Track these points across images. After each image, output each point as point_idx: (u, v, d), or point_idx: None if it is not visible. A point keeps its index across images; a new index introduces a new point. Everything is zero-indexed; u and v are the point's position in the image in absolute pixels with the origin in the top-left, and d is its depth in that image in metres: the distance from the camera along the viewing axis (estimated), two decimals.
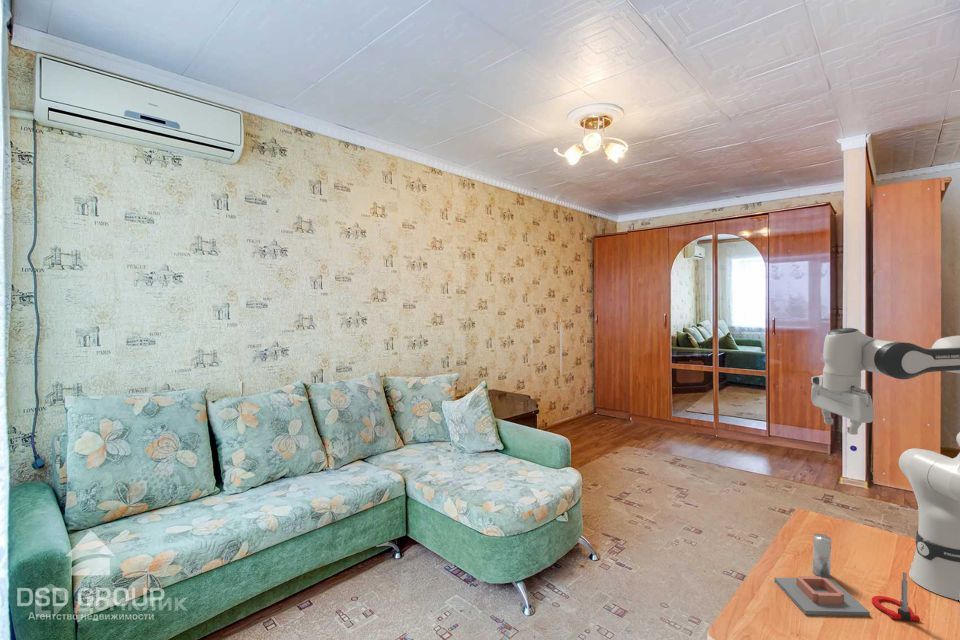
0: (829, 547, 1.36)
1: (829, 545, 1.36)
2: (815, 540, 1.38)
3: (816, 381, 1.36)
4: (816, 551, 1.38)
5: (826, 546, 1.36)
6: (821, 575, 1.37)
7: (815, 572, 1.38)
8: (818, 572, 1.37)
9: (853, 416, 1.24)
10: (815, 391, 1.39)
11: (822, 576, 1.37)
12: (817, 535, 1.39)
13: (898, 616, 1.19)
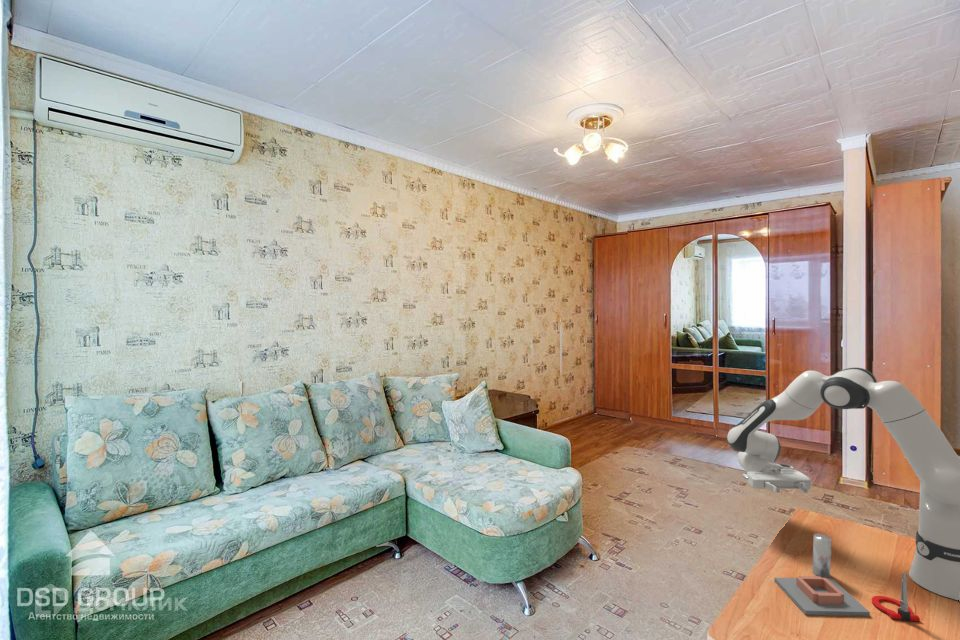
0: (829, 547, 1.36)
1: (829, 545, 1.36)
2: (815, 540, 1.38)
3: None
4: (816, 551, 1.38)
5: (826, 546, 1.36)
6: (821, 575, 1.37)
7: (815, 572, 1.38)
8: (818, 572, 1.37)
9: None
10: None
11: (822, 576, 1.37)
12: (817, 535, 1.39)
13: (898, 616, 1.19)
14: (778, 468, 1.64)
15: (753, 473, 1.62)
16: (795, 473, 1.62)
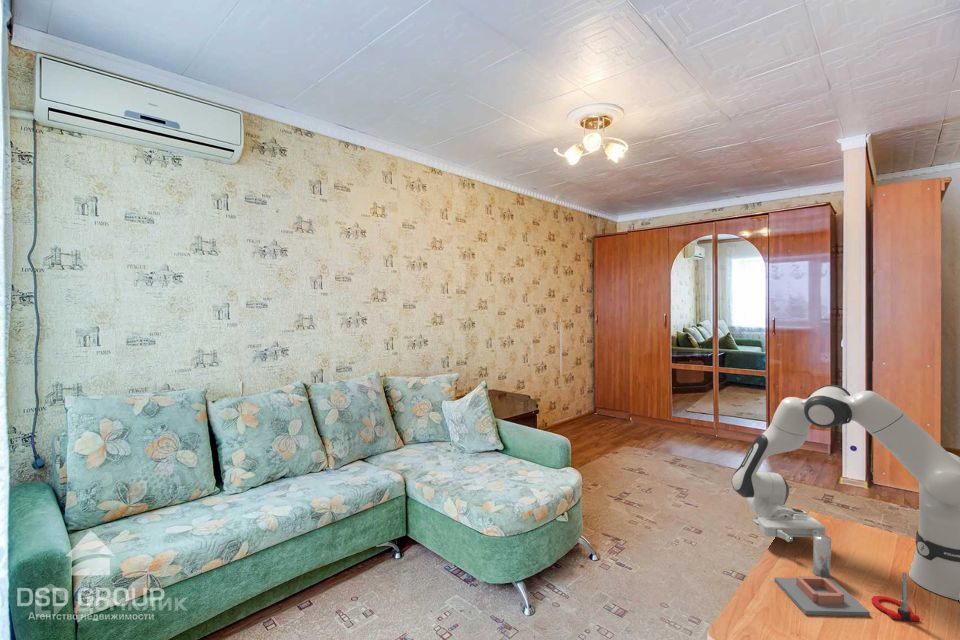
0: (829, 547, 1.36)
1: (829, 545, 1.36)
2: (815, 540, 1.38)
3: None
4: (816, 551, 1.38)
5: (826, 546, 1.36)
6: (821, 575, 1.37)
7: (815, 572, 1.38)
8: (818, 572, 1.37)
9: None
10: None
11: (822, 576, 1.37)
12: (817, 535, 1.39)
13: (898, 616, 1.19)
14: (790, 513, 1.58)
15: (764, 519, 1.56)
16: (809, 519, 1.55)
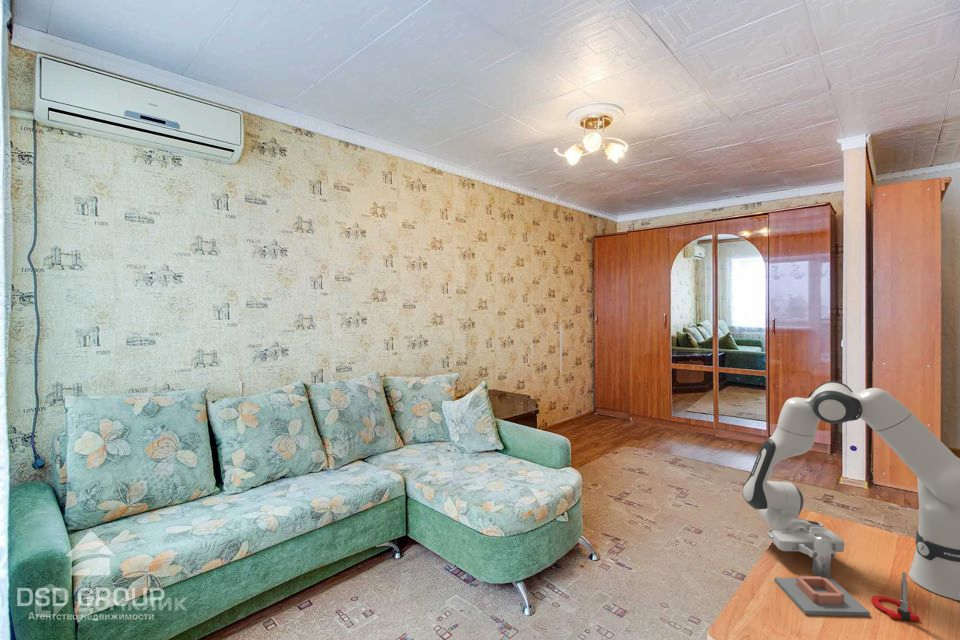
0: (829, 547, 1.36)
1: (829, 545, 1.36)
2: (815, 540, 1.38)
3: None
4: (816, 551, 1.38)
5: (826, 546, 1.36)
6: (821, 575, 1.37)
7: (815, 572, 1.38)
8: (818, 572, 1.37)
9: None
10: None
11: (822, 576, 1.37)
12: (817, 535, 1.39)
13: (898, 616, 1.19)
14: (806, 526, 1.49)
15: (779, 532, 1.47)
16: (826, 532, 1.47)
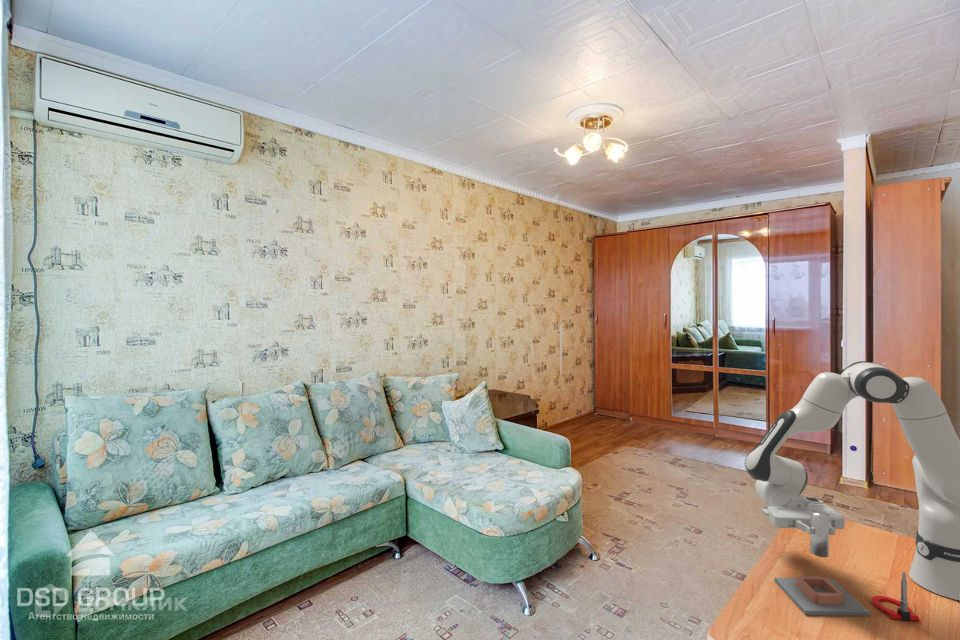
0: (828, 523, 1.27)
1: (828, 521, 1.27)
2: (813, 516, 1.29)
3: None
4: (814, 528, 1.29)
5: (824, 522, 1.27)
6: (819, 554, 1.28)
7: (813, 551, 1.29)
8: (816, 550, 1.29)
9: None
10: None
11: (820, 555, 1.28)
12: (815, 511, 1.30)
13: (898, 616, 1.19)
14: (804, 502, 1.40)
15: (775, 508, 1.39)
16: (825, 508, 1.38)
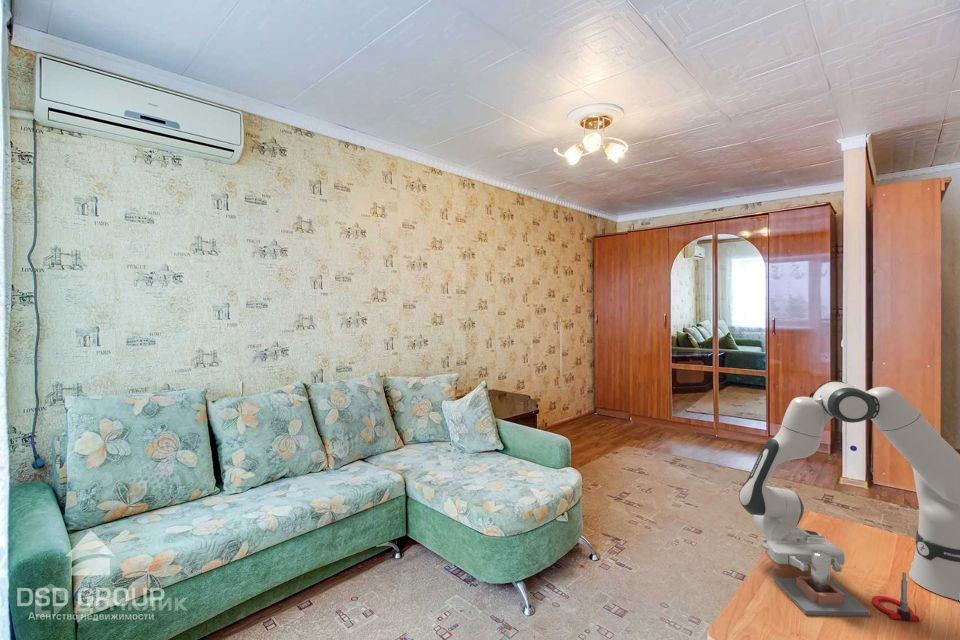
0: (829, 565, 1.25)
1: (828, 563, 1.25)
2: (813, 557, 1.27)
3: None
4: (814, 569, 1.27)
5: (825, 563, 1.25)
6: None
7: None
8: (816, 591, 1.27)
9: None
10: None
11: None
12: (816, 551, 1.28)
13: (898, 616, 1.19)
14: (804, 536, 1.38)
15: (774, 543, 1.37)
16: (825, 543, 1.36)
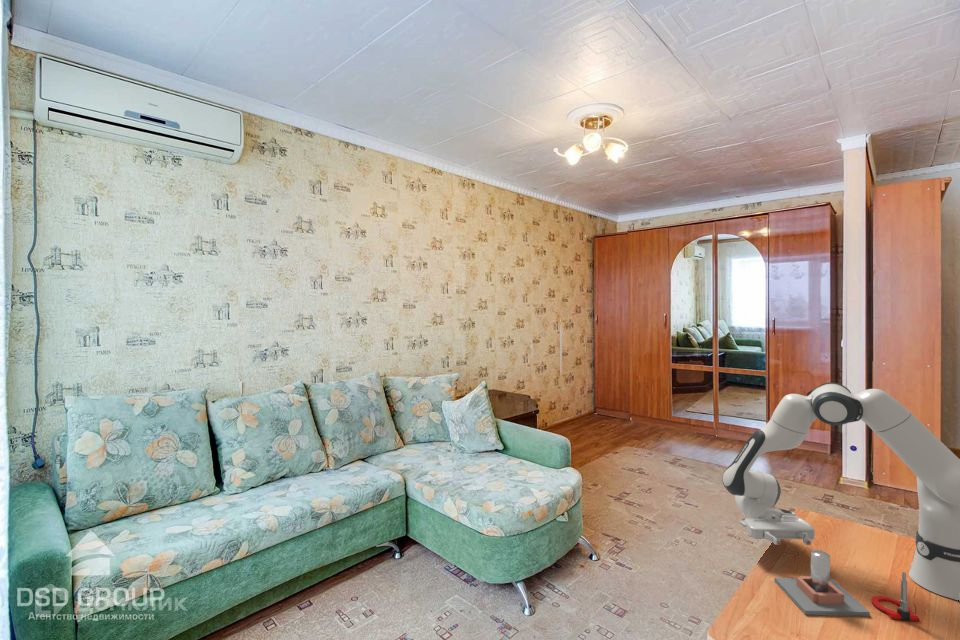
0: (828, 564, 1.25)
1: (828, 563, 1.25)
2: (813, 557, 1.27)
3: None
4: (814, 569, 1.27)
5: (825, 563, 1.25)
6: None
7: None
8: (816, 592, 1.27)
9: None
10: None
11: None
12: (815, 551, 1.29)
13: (898, 616, 1.19)
14: (779, 514, 1.51)
15: (751, 520, 1.50)
16: (798, 520, 1.49)
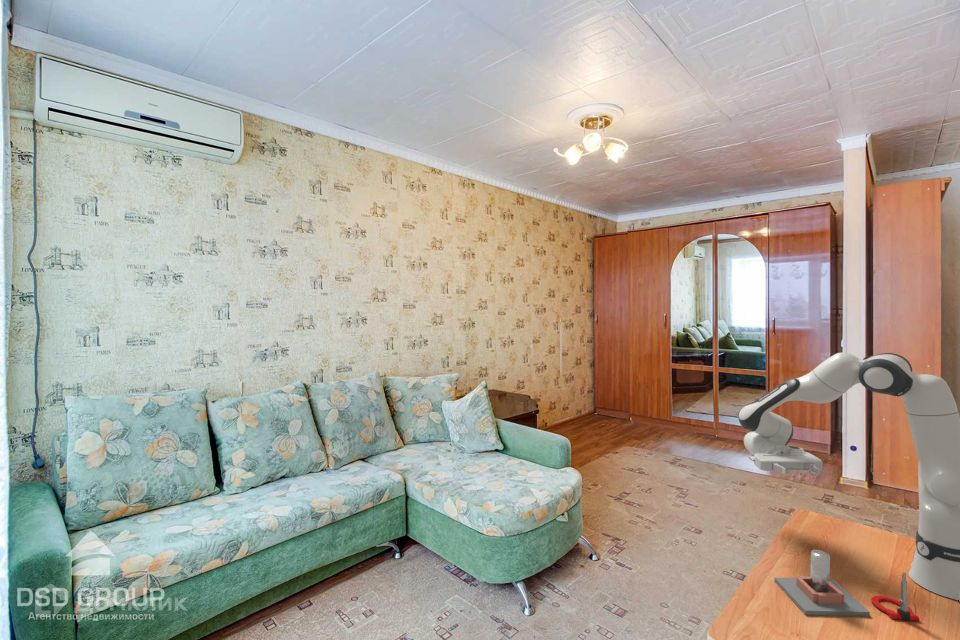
0: (828, 565, 1.25)
1: (828, 563, 1.25)
2: (813, 557, 1.27)
3: None
4: (814, 569, 1.27)
5: (824, 563, 1.25)
6: None
7: None
8: (816, 592, 1.27)
9: None
10: None
11: None
12: (815, 551, 1.28)
13: (898, 616, 1.19)
14: (787, 450, 1.56)
15: (760, 455, 1.54)
16: (805, 454, 1.53)
